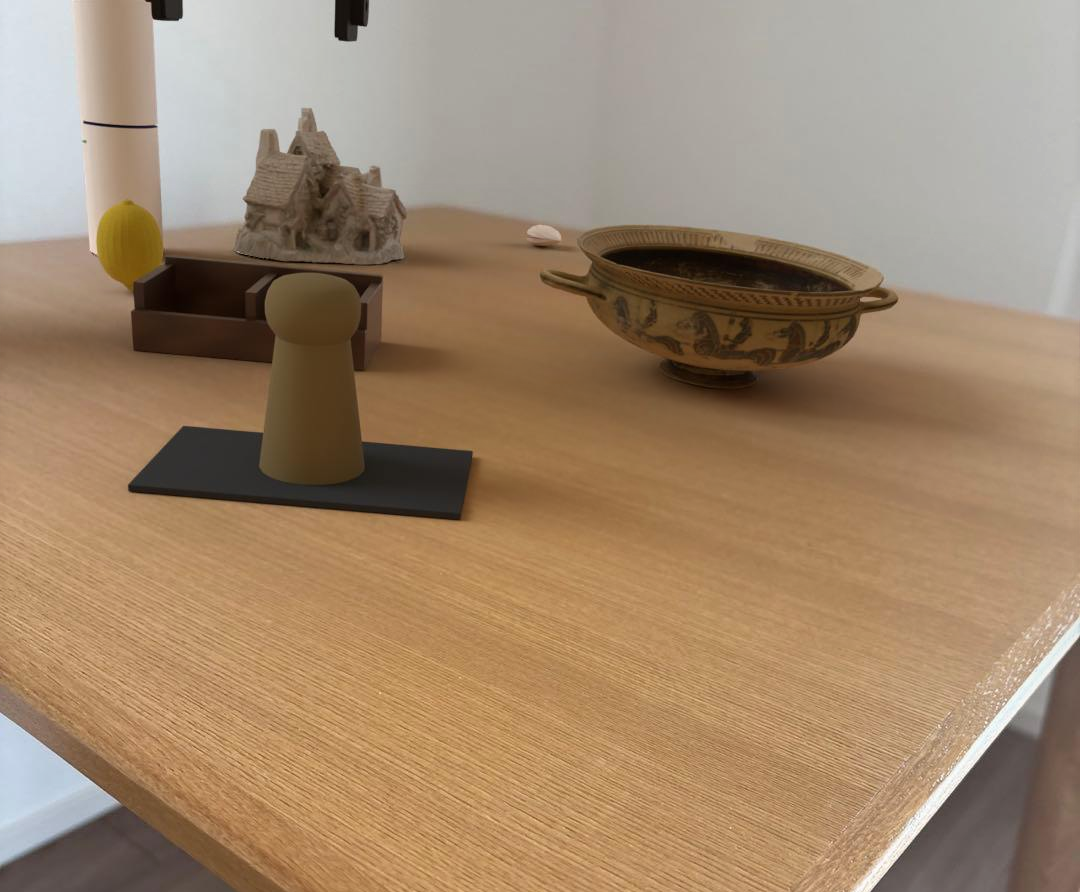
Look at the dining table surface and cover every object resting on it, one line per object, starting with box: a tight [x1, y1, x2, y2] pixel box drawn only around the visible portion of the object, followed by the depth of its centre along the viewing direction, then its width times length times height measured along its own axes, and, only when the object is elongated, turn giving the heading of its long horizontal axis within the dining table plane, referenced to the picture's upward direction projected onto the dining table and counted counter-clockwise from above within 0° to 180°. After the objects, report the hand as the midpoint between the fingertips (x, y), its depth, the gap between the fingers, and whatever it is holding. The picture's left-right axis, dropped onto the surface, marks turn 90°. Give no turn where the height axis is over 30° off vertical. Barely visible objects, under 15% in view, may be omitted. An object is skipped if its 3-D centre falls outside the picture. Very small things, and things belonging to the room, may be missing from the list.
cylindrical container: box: [71, 0, 165, 254], centre depth 111 cm, size 7×7×25 cm
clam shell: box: [526, 224, 562, 247], centre depth 140 cm, size 4×5×2 cm
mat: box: [127, 425, 474, 520], centre depth 66 cm, size 18×10×1 cm, turn 89°
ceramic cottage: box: [233, 107, 408, 265], centre depth 122 cm, size 16×16×15 cm
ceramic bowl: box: [539, 224, 899, 390], centre depth 91 cm, size 30×24×10 cm
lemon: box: [96, 199, 164, 292], centre depth 100 cm, size 6×6×8 cm
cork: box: [259, 273, 365, 485], centre depth 63 cm, size 6×6×11 cm
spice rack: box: [130, 254, 384, 372], centre depth 88 cm, size 17×9×6 cm, turn 89°
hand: (257, 30), depth 61 cm, fingers open, 9 cm apart
